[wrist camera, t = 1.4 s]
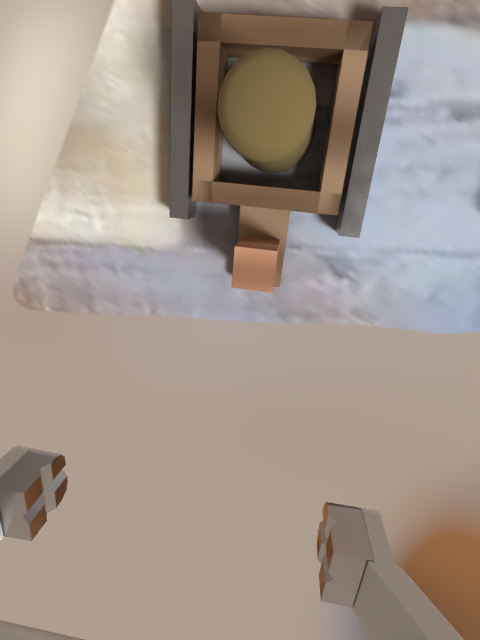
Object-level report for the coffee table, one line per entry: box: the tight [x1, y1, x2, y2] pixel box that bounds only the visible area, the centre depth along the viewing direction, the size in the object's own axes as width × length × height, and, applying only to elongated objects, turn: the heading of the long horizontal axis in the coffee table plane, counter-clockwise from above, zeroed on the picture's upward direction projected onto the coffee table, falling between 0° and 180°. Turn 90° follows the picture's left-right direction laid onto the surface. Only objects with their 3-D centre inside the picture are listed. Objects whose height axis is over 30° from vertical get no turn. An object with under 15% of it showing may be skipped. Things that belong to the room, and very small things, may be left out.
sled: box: [192, 12, 374, 292], centre depth 25 cm, size 18×11×6 cm, turn 175°
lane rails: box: [170, 0, 408, 238], centre depth 26 cm, size 14×15×2 cm
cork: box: [218, 47, 316, 173], centre depth 22 cm, size 6×6×11 cm
